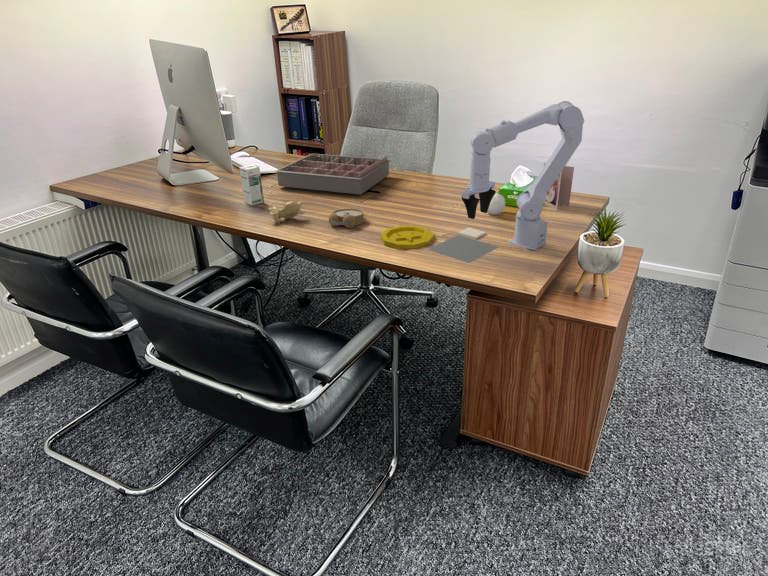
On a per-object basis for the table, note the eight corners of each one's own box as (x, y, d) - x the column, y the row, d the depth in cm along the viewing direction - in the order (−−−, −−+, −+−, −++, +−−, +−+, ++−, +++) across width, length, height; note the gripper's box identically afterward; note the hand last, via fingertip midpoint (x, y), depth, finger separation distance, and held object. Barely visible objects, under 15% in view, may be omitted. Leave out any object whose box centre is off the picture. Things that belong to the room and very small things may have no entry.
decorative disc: (412, 255, 174) (412, 249, 173) (370, 242, 184) (370, 236, 184) (443, 238, 185) (443, 233, 185) (402, 227, 196) (402, 222, 195)
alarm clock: (368, 210, 203) (352, 216, 190) (368, 223, 205) (352, 230, 191) (340, 207, 207) (322, 213, 193) (340, 220, 208) (322, 227, 195)
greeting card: (537, 201, 216) (542, 163, 209) (554, 199, 218) (559, 161, 211) (554, 210, 206) (559, 170, 200) (572, 208, 208) (577, 168, 202)
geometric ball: (497, 219, 207) (512, 202, 204) (491, 218, 200) (506, 201, 197) (483, 206, 209) (497, 189, 206) (476, 205, 202) (491, 187, 199)
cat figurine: (267, 203, 203) (298, 191, 203) (274, 217, 208) (305, 206, 208) (269, 216, 197) (301, 204, 197) (276, 231, 202) (308, 219, 202)
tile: (475, 241, 183) (485, 236, 187) (475, 237, 182) (486, 232, 186) (458, 236, 187) (468, 231, 191) (458, 232, 186) (468, 227, 190)
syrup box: (251, 205, 219) (246, 169, 213) (244, 202, 223) (239, 166, 217) (264, 202, 223) (259, 166, 216) (256, 199, 226) (252, 163, 220)
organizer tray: (312, 170, 265) (311, 149, 260) (391, 177, 251) (391, 155, 247) (276, 189, 239) (273, 166, 234) (361, 198, 225) (360, 174, 220)
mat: (498, 248, 176) (499, 247, 176) (469, 264, 166) (469, 263, 166) (457, 236, 186) (457, 234, 186) (427, 250, 176) (427, 249, 176)
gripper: (482, 165, 177) (480, 206, 184) (455, 175, 168) (453, 218, 174) (501, 169, 173) (498, 211, 179) (474, 179, 164) (472, 223, 170)
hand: (477, 215), depth 176 cm, fingers open, 6 cm apart
